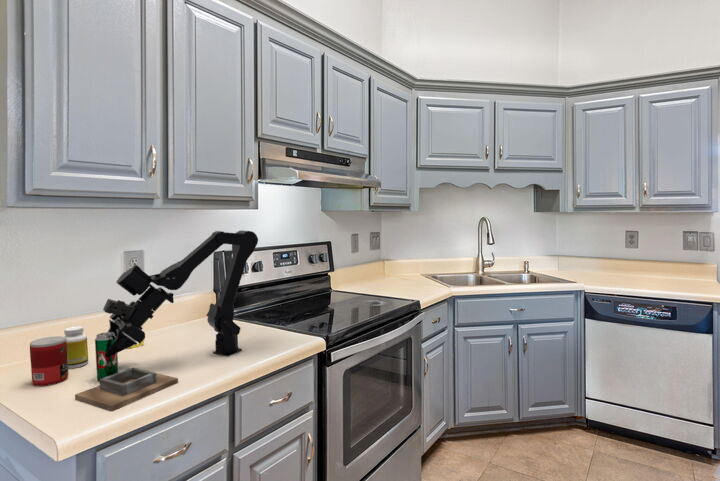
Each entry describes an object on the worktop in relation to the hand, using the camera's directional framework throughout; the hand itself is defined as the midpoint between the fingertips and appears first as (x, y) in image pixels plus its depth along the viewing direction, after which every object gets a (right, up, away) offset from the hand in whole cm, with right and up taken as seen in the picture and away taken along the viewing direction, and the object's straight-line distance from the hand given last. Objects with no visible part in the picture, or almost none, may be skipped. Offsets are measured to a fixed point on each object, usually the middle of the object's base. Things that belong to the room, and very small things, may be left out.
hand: (103, 352), depth 117 cm
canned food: (-14, -8, -1) cm, 16 cm away
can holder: (+11, -8, -8) cm, 15 cm away
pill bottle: (-14, -7, +11) cm, 19 cm away
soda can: (+1, -7, +1) cm, 8 cm away
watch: (-6, -6, +28) cm, 29 cm away
